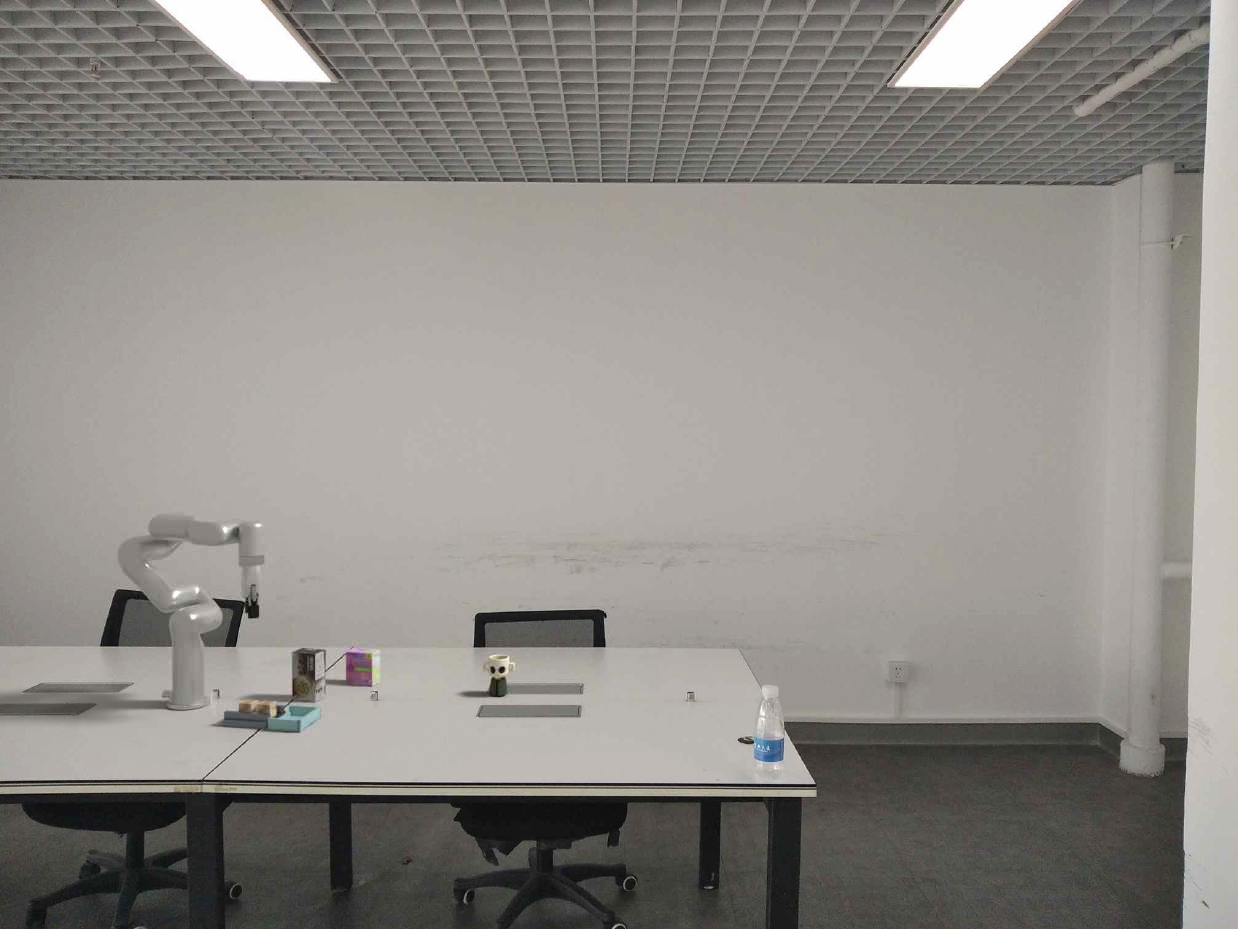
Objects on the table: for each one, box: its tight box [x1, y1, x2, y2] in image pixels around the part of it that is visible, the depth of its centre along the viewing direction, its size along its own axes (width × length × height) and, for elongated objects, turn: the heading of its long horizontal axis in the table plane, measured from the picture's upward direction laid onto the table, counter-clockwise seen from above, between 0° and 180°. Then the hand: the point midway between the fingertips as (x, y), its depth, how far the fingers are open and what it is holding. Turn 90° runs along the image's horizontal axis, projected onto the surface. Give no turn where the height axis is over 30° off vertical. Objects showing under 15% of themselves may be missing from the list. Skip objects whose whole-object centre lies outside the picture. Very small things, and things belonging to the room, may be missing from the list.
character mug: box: [482, 654, 516, 696], centre depth 321 cm, size 11×7×13 cm, turn 87°
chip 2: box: [257, 700, 277, 717], centre depth 286 cm, size 4×4×4 cm
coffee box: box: [291, 647, 327, 703], centre depth 312 cm, size 9×6×16 cm
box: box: [345, 647, 381, 687], centre depth 332 cm, size 10×6×12 cm, turn 76°
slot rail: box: [221, 704, 287, 730], centre depth 287 cm, size 14×12×4 cm
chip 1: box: [238, 699, 259, 712], centre depth 287 cm, size 4×4×4 cm
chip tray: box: [267, 704, 322, 733], centre depth 285 cm, size 10×14×4 cm
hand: (252, 615), depth 295 cm, fingers open, 9 cm apart
